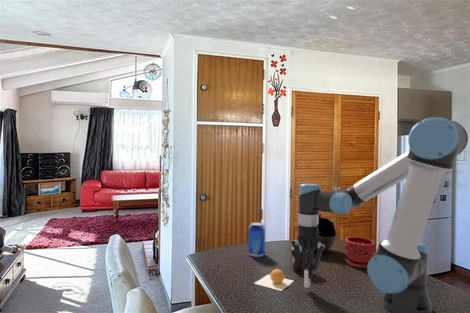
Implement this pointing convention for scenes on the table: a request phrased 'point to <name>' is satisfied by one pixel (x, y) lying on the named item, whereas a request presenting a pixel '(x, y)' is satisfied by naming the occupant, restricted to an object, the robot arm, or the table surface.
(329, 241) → the bowl of black rocks
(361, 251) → the plant pot
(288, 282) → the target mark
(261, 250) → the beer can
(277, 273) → the ball
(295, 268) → the coffee mug
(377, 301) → the table surface
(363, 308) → the table surface
